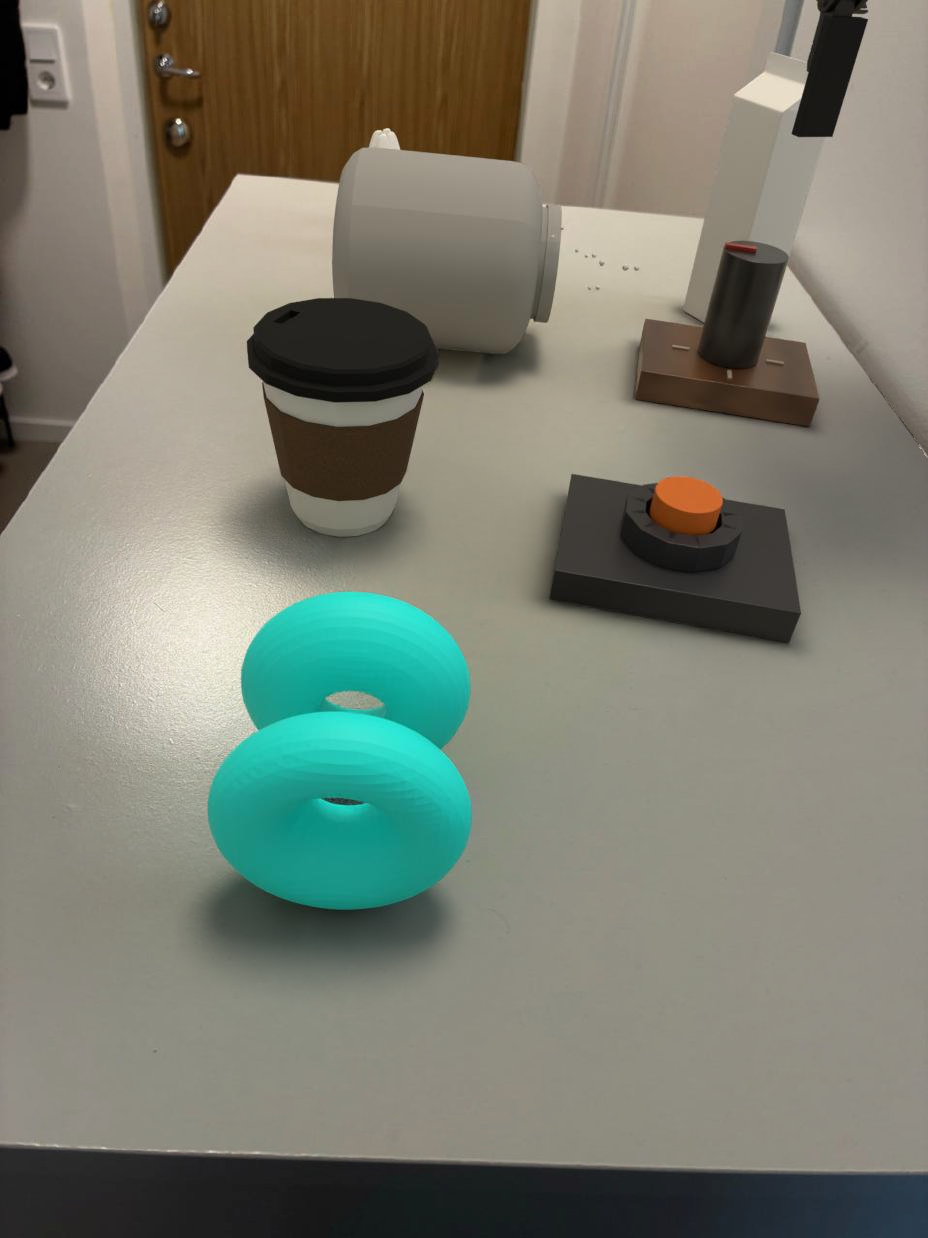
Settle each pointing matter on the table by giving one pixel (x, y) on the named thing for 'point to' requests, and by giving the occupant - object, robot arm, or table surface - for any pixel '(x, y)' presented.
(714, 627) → the grey button base
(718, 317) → the temp dial
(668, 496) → the power button
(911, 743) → the table surface
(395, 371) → the coffee cup
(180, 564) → the table surface
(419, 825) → the donuts
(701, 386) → the dial panel
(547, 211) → the jar
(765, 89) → the milk
